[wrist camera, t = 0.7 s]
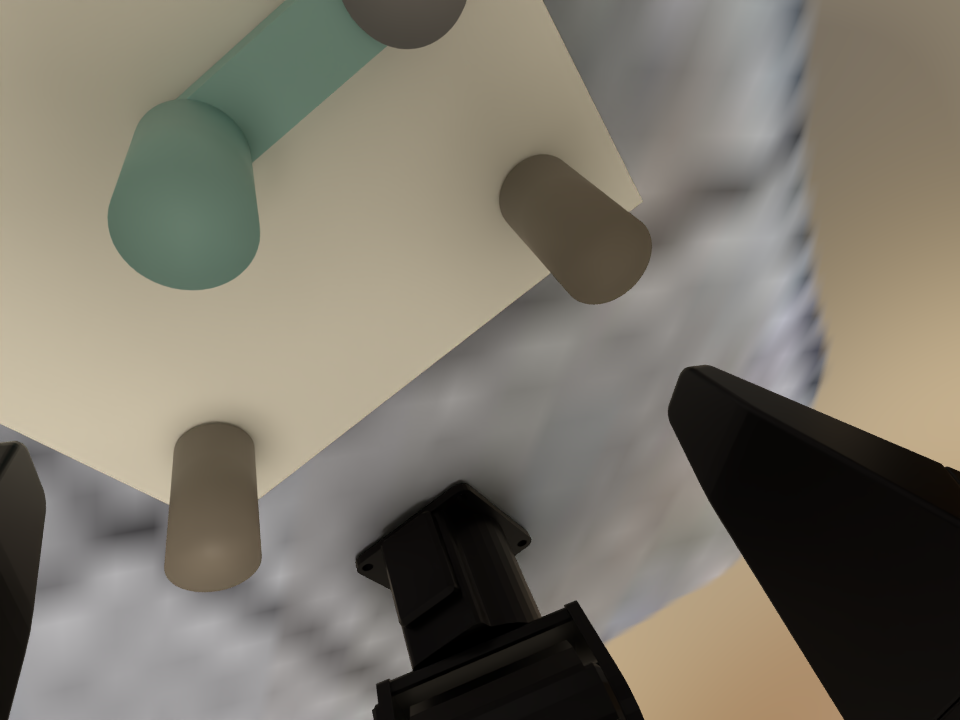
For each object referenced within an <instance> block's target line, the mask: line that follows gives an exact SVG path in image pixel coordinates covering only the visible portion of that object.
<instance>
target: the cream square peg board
mask: <svg viewBox="0 0 960 720" xmlns="http://www.w3.org/2000/svg"><path fill="white" fill-rule="evenodd" d="M284 1H285V0H0V424H2V425H4V426H6V427H8V428H11V429H13V430H15V431H17V432H19V433H21V434H23V435H25V436H27V437H29V438H31V439H33V440H36V441H38V442H40V443H42V444H44V445H46V446H48V447H50V448H52V449H54V450H56V451H58V452H60V453H63V454H65V455H67V456H69V457H71V458H73V459H75V460H77V461H79V462H81V463H83V464H85V465H88V466H90V467H92V468H94V469H96V470H98V471H100V472H102V473H104V474H106V475H108V476H110V477H112V478H115V479H117V480H119V481H121V482H123V483H125V484H127V485H129V486H131V487H133V488H135V489H137V490H139V491H142V492H144V493H146V494H148V495H150V496H152V497H154V498H156V499H158V500H160V501H162V502H164V503H167V504H169V515H168V528H167V540H166V553H165V565H164V570H165V574H166V576H167V578H168V579H169V580H170V581H171V582H172V583H173V584H174V585H176V586H178V587H180V588H182V589H185V590H189V591H195V592H213V591H219V590H224V589H228V588H231V587H233V586H236V585H238V584H240V583H242V582H244V581H245V580H247V579H248V578H249V577H251V576H252V575H253V574H254V573H255V572H256V570H257V569H258V567H259V566H260V563H261V558H262V554H261V539H260V524H259V508H258V499H260V498H261V497H262V496H264V495H265V494H266V493H267V492H269V491H270V490H271V489H273V488H274V487H275V486H276V485H278V484H279V483H280V482H282V481H283V480H284V479H285V478H287V477H288V476H289V475H291V474H292V473H293V472H295V471H296V470H297V469H298V468H300V467H301V466H302V465H304V464H305V463H306V462H307V461H309V460H310V459H311V458H313V457H314V456H315V455H316V454H318V453H319V452H320V451H322V450H323V449H324V448H325V447H327V446H328V445H329V444H331V443H332V442H333V441H334V440H336V439H337V438H338V437H340V436H341V435H342V434H344V433H345V432H346V431H347V430H349V429H350V428H351V427H353V426H354V425H355V424H356V423H358V422H359V421H360V420H362V419H363V418H364V417H365V416H367V415H368V414H369V413H371V412H372V411H373V410H374V409H376V408H377V407H378V406H380V405H381V404H382V403H383V402H385V401H386V400H387V399H389V398H390V397H391V396H393V395H394V394H395V393H396V392H398V391H399V390H400V389H402V388H403V387H404V386H405V385H407V384H408V383H409V382H411V381H412V380H413V379H414V378H416V377H417V376H418V375H420V374H421V373H422V372H423V371H425V370H426V369H427V368H429V367H430V366H431V365H432V364H434V363H435V362H436V361H438V360H439V359H440V358H442V357H443V356H444V355H445V354H447V353H448V352H449V351H451V350H452V349H453V348H454V347H456V346H457V345H458V344H460V343H461V342H462V341H463V340H465V339H466V338H467V337H469V336H470V335H471V334H472V333H474V332H475V331H476V330H478V329H479V328H480V327H481V326H483V325H484V324H485V323H487V322H488V321H489V320H490V319H492V318H493V317H494V316H496V315H497V314H498V313H500V312H501V311H502V310H503V309H505V308H506V307H507V306H509V305H510V304H511V303H512V302H514V301H515V300H516V299H518V298H519V297H520V296H521V295H523V294H524V293H525V292H527V291H528V290H529V289H530V288H532V287H533V286H534V285H536V284H537V283H538V282H539V281H541V280H542V279H543V278H545V277H546V276H547V275H549V274H550V273H551V274H552V275H553V276H554V277H555V278H556V279H557V280H558V282H559V283H560V284H561V285H562V286H563V287H564V288H565V290H566V291H567V292H568V293H569V294H570V295H571V296H572V297H573V298H574V299H576V300H577V301H579V302H582V303H585V304H602V303H607V302H610V301H612V300H615V299H617V298H618V297H620V296H622V295H623V294H625V293H626V292H627V291H629V290H630V289H631V288H632V287H633V286H634V285H635V284H636V283H637V282H638V280H639V279H640V278H641V276H642V275H643V273H644V271H645V270H646V268H647V265H648V263H649V260H650V256H651V249H652V243H651V237H650V234H649V231H648V229H647V228H646V226H645V225H644V224H643V223H642V222H641V221H640V220H638V219H637V218H636V217H634V216H633V215H632V214H631V213H629V212H630V211H631V210H632V209H634V208H635V207H636V206H637V205H639V204H640V203H641V202H643V201H642V199H641V197H640V195H639V193H638V191H637V189H636V187H635V185H634V183H633V181H632V179H631V177H630V175H629V173H628V171H627V169H626V167H625V165H624V163H623V161H622V159H621V157H620V155H619V153H618V151H617V149H616V147H615V145H614V143H613V141H612V139H611V137H610V135H609V133H608V131H607V129H606V127H605V125H604V123H603V121H602V119H601V117H600V115H599V113H598V111H597V109H596V107H595V105H594V103H593V101H592V99H591V97H590V95H589V93H588V91H587V89H586V87H585V85H584V83H583V81H582V79H581V77H580V75H579V73H578V71H577V69H576V67H575V64H574V62H573V60H572V58H571V56H570V54H569V52H568V50H567V48H566V46H565V44H564V42H563V40H562V38H561V36H560V34H559V32H558V30H557V28H556V26H555V24H554V22H553V20H552V18H551V16H550V14H549V12H548V10H547V8H546V6H545V4H544V2H543V0H467V1H466V4H465V7H464V9H463V11H462V13H461V15H460V17H459V18H458V20H457V22H456V23H455V24H454V26H453V27H452V28H451V29H450V30H449V31H448V32H447V33H446V34H445V35H444V36H443V37H441V38H440V39H439V40H437V41H435V42H434V43H432V44H430V45H427V46H424V47H421V48H416V49H398V48H394V47H390V46H387V47H385V48H384V49H383V50H382V51H381V52H380V53H379V54H377V55H376V56H375V57H374V58H373V59H372V60H370V61H369V62H368V63H367V64H366V65H365V66H364V67H362V68H361V69H360V70H359V71H358V72H357V73H355V74H354V75H353V76H352V77H351V78H350V79H349V80H347V81H346V82H345V83H344V84H343V85H342V86H340V87H339V88H338V89H337V90H336V91H335V92H334V93H332V94H331V95H330V96H329V97H328V98H327V99H325V100H324V101H323V102H322V103H321V104H320V105H319V106H317V107H316V108H315V109H314V110H313V111H312V112H310V113H309V114H308V115H307V116H306V117H305V118H304V119H302V120H301V121H300V122H299V123H298V124H297V125H295V126H294V127H293V128H292V129H291V130H290V131H289V132H287V133H286V134H285V135H284V136H283V137H282V138H280V139H279V140H278V141H277V142H276V143H275V144H274V145H272V146H271V147H270V148H269V149H268V150H267V151H265V152H264V153H263V154H262V155H261V156H260V157H259V158H257V159H256V160H255V161H254V162H253V163H252V167H253V175H254V183H255V191H256V199H257V207H258V215H259V223H260V242H259V246H258V250H257V252H256V255H255V257H254V259H253V260H252V262H251V263H250V265H249V266H248V267H247V269H245V270H244V271H243V272H242V273H241V274H240V275H239V276H237V277H236V278H235V279H233V280H231V281H229V282H228V283H226V284H223V285H221V286H218V287H214V288H210V289H204V290H180V289H174V288H170V287H166V286H163V285H160V284H158V283H155V282H153V281H151V280H149V279H147V278H145V277H144V276H142V275H141V274H139V273H138V272H136V271H135V270H134V269H133V268H132V267H130V266H129V265H128V264H127V262H126V261H125V260H124V259H123V258H122V257H121V255H120V254H119V253H118V251H117V249H116V248H115V246H114V244H113V242H112V239H111V236H110V233H109V229H108V219H107V217H108V208H109V204H110V200H111V198H112V195H113V192H114V189H115V186H116V183H117V180H118V178H119V175H120V172H121V169H122V166H123V163H124V161H125V158H126V155H127V152H128V149H129V146H130V143H131V141H132V138H133V135H134V132H135V129H136V127H137V125H138V123H139V121H140V120H141V118H142V117H143V116H144V115H145V114H146V113H147V112H148V111H149V110H151V109H152V108H153V107H155V106H157V105H159V104H161V103H164V102H166V101H171V100H175V99H177V98H178V97H179V96H180V95H181V94H182V93H183V92H184V91H185V90H187V89H188V88H189V87H190V86H191V85H192V84H193V83H194V82H195V81H197V80H198V79H199V78H200V77H201V76H202V75H203V74H204V73H205V72H207V71H208V70H209V69H210V68H211V67H212V66H213V65H214V64H215V63H216V62H218V61H219V60H220V59H221V58H222V57H223V56H224V55H225V54H226V53H228V52H229V51H230V50H231V49H232V48H233V47H234V46H235V45H236V44H238V43H239V42H240V41H241V40H242V39H243V38H244V37H245V36H246V35H248V34H249V33H250V32H251V31H252V30H253V29H254V28H255V27H256V26H258V25H259V24H260V23H261V22H262V21H263V20H264V19H265V18H266V17H268V16H269V15H270V14H271V13H272V12H273V11H274V10H275V9H276V8H277V7H279V6H280V5H281V4H282V3H283V2H284Z"/></svg>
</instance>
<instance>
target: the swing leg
mask: <svg viewBox="0 0 960 720" xmlns="http://www.w3.org/2000/svg"><path fill="white" fill-rule="evenodd" d="M466 1H467V0H285V1H284V2H283V3H282V4H281V5H280V6H279V7H277V8H276V9H275V10H274V11H273V12H272V13H271V14H270V15H269V16H268V17H266V18H265V19H264V20H263V21H262V22H261V23H260V24H259V25H258V26H256V27H255V28H254V29H253V30H252V31H251V32H250V33H249V34H248V35H246V36H245V37H244V38H243V39H242V40H241V41H240V42H239V43H238V44H236V45H235V46H234V47H233V48H232V49H231V50H230V51H229V52H228V53H226V54H225V55H224V56H223V57H222V58H221V59H220V60H219V61H218V62H216V63H215V64H214V65H213V66H212V67H211V68H210V69H209V70H208V71H207V72H205V73H204V74H203V75H202V76H201V77H200V78H199V79H198V80H197V81H195V82H194V83H193V84H192V85H191V86H190V87H189V88H188V89H187V90H185V91H184V92H183V93H182V94H181V95H180V96H179V97H178V98H177V99H175V100H171V101H166V102H164V103H161V104H159V105H157V106H155V107H153V108H152V109H151V110H149V111H148V112H147V113H146V114H145V115H144V116H143V117H142V118H141V120H140V121H139V123H138V125H137V127H136V129H135V132H134V135H133V138H132V141H131V143H130V146H129V149H128V152H127V155H126V158H125V161H124V163H123V166H122V169H121V172H120V175H119V178H118V180H117V183H116V186H115V189H114V192H113V195H112V198H111V200H110V204H109V208H108V217H107V219H108V229H109V233H110V236H111V239H112V242H113V244H114V246H115V248H116V249H117V251H118V253H119V254H120V255H121V257H122V258H123V259H124V260H125V261H126V262H127V264H128V265H129V266H130V267H132V268H133V269H134V270H135V271H136V272H138V273H139V274H141V275H142V276H144V277H145V278H147V279H149V280H151V281H153V282H155V283H158V284H160V285H163V286H166V287H170V288H174V289H180V290H204V289H210V288H214V287H218V286H221V285H223V284H226V283H228V282H229V281H231V280H233V279H235V278H236V277H237V276H239V275H240V274H241V273H242V272H243V271H244V270H245V269H247V267H248V266H249V265H250V263H251V262H252V260H253V259H254V257H255V255H256V252H257V250H258V246H259V242H260V223H259V215H258V207H257V199H256V191H255V183H254V175H253V167H252V163H253V162H254V161H255V160H256V159H257V158H259V157H260V156H261V155H262V154H263V153H264V152H265V151H267V150H268V149H269V148H270V147H271V146H272V145H274V144H275V143H276V142H277V141H278V140H279V139H280V138H282V137H283V136H284V135H285V134H286V133H287V132H289V131H290V130H291V129H292V128H293V127H294V126H295V125H297V124H298V123H299V122H300V121H301V120H302V119H304V118H305V117H306V116H307V115H308V114H309V113H310V112H312V111H313V110H314V109H315V108H316V107H317V106H319V105H320V104H321V103H322V102H323V101H324V100H325V99H327V98H328V97H329V96H330V95H331V94H332V93H334V92H335V91H336V90H337V89H338V88H339V87H340V86H342V85H343V84H344V83H345V82H346V81H347V80H349V79H350V78H351V77H352V76H353V75H354V74H355V73H357V72H358V71H359V70H360V69H361V68H362V67H364V66H365V65H366V64H367V63H368V62H369V61H370V60H372V59H373V58H374V57H375V56H376V55H377V54H379V53H380V52H381V51H382V50H383V49H384V48H385V47H387V46H390V47H394V48H398V49H416V48H421V47H424V46H427V45H430V44H432V43H434V42H435V41H437V40H439V39H440V38H441V37H443V36H444V35H445V34H446V33H447V32H448V31H449V30H450V29H451V28H452V27H453V26H454V24H455V23H456V22H457V20H458V18H459V17H460V15H461V13H462V11H463V9H464V7H465V4H466Z"/></svg>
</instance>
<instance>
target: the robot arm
mask: <svg viewBox="0 0 960 720" xmlns="http://www.w3.org/2000/svg"><path fill="white" fill-rule="evenodd" d="M668 418H669V421H670V424H671V426H672V428H673V430H674V432H675V434H676V436H677V438H678V440H679V442H680V444H681V446H682V448H683V450H684V452H685V454H686V456H687V458H688V460H689V462H690V464H691V466H692V468H693V471H694V473H695V475H696V477H697V479H698V481H699V483H700V485H701V487H702V489H703V491H704V493H705V494H706V496H707V498H708V500H709V502H710V504H711V505H712V507H713V509H714V510H715V512H716V514H717V515H718V517H719V519H720V520H721V522H722V523H723V525H724V527H725V528H726V530H727V531H728V533H729V535H730V536H731V538H732V540H733V541H734V543H735V544H736V546H737V548H738V549H739V551H740V552H741V554H742V556H743V557H744V559H745V560H746V562H747V564H748V565H749V567H750V569H751V570H752V572H753V573H754V575H755V577H756V578H757V580H758V581H759V583H760V585H761V586H762V588H763V590H764V591H765V593H766V594H767V596H768V598H769V599H770V601H771V602H772V604H773V606H774V607H775V609H776V611H777V612H778V614H779V615H780V617H781V619H782V620H783V622H784V623H785V625H786V627H787V628H788V630H789V632H790V633H791V635H792V636H793V638H794V640H795V641H796V643H797V644H798V646H799V648H800V649H801V651H802V652H803V654H804V656H805V657H806V659H807V660H808V662H809V664H810V665H811V667H812V669H813V670H814V672H815V673H816V675H817V677H818V678H819V680H820V681H821V683H822V685H823V686H824V688H825V690H826V691H827V693H828V694H829V696H830V698H831V699H832V701H833V702H834V704H835V706H836V707H837V709H838V711H839V712H840V714H841V715H842V717H843V719H844V720H960V471H957V470H955V469H953V468H950V467H944V466H943V465H942V464H940V463H938V462H936V461H934V460H931V459H929V458H927V457H924V456H922V455H919V454H917V453H915V452H913V451H910V450H908V449H906V448H903V447H901V446H898V445H896V444H893V443H891V442H889V441H887V440H884V439H882V438H880V437H877V436H875V435H873V434H870V433H868V432H866V431H863V430H861V429H859V428H856V427H854V426H851V425H849V424H847V423H844V422H842V421H840V420H837V419H835V418H832V417H830V416H828V415H826V414H823V413H821V412H818V411H816V410H814V409H812V408H809V407H807V406H804V405H802V404H800V403H797V402H795V401H793V400H790V399H788V398H786V397H783V396H781V395H779V394H776V393H774V392H772V391H769V390H767V389H765V388H762V387H760V386H758V385H755V384H753V383H750V382H748V381H746V380H743V379H741V378H739V377H736V376H734V375H732V374H729V373H727V372H725V371H722V370H720V369H718V368H715V367H713V366H710V365H700V366H691V367H687V368H685V369H684V370H683V371H682V372H681V373H680V375H679V378H678V381H677V384H676V386H675V389H674V392H673V395H672V398H671V400H670V403H669V406H668ZM45 514H46V500H45V494H44V490H43V487H42V485H41V482H40V480H39V477H38V475H37V472H36V469H35V467H34V464H33V462H32V459H31V457H30V454H29V452H28V449H27V448H26V447H25V445H24V444H23V443H20V442H18V441H11V442H2V443H0V720H8V719H9V715H10V711H11V707H12V703H13V699H14V695H15V692H16V688H17V684H18V680H19V676H20V672H21V669H22V665H23V661H24V657H25V653H26V649H27V644H28V640H29V636H30V631H31V624H32V617H33V611H34V603H35V594H36V586H37V578H38V570H39V562H40V554H41V546H42V538H43V530H44V522H45ZM530 543H531V538H530V536H529V534H528V532H527V531H526V530H525V529H523V528H522V527H521V526H520V525H518V524H517V523H516V522H515V521H513V520H512V519H511V518H510V517H508V516H507V515H506V514H505V513H503V512H502V511H501V510H500V509H498V508H497V507H496V506H495V505H493V504H492V503H491V502H489V501H488V500H487V499H486V498H484V497H483V496H482V495H481V494H479V493H478V492H477V491H476V490H474V489H473V488H472V487H471V486H469V485H468V484H466V483H461V484H457V485H455V486H453V487H452V488H451V489H449V490H448V491H447V492H445V493H444V494H443V495H441V496H440V497H439V498H437V499H436V500H435V501H433V502H432V503H431V504H429V505H428V506H426V507H425V508H424V509H422V510H421V511H420V512H418V513H417V514H416V515H414V516H413V517H412V518H410V519H409V520H408V521H406V522H405V523H404V524H402V525H401V526H399V527H398V528H397V529H395V530H394V531H393V532H391V533H390V534H389V535H387V536H386V537H385V538H383V539H382V540H381V541H379V542H378V543H377V544H375V545H374V546H372V547H371V548H370V549H368V550H367V551H366V552H364V553H363V554H362V555H360V556H359V557H358V558H357V559H356V561H355V563H356V568H357V572H358V573H359V574H361V575H363V576H365V577H367V578H369V579H371V580H373V581H375V582H377V583H379V584H381V585H383V586H384V587H386V588H388V589H390V590H391V591H392V595H393V600H394V604H395V608H396V612H397V616H398V620H399V623H400V625H401V626H402V630H403V634H404V638H405V642H406V646H407V650H408V654H409V658H410V662H411V666H412V670H413V671H412V672H410V673H407V674H405V675H402V676H400V677H398V678H395V679H393V680H390V679H387V680H384V681H382V682H379V683H377V684H376V688H377V696H378V704H377V705H375V708H374V709H373V710H372V713H373V718H374V720H644V718H643V715H642V713H641V711H640V709H639V706H638V704H637V702H636V700H635V698H634V696H633V694H632V692H631V690H630V688H629V686H628V684H627V682H626V680H625V679H624V677H623V675H622V674H621V672H620V670H619V669H618V667H617V665H616V664H615V662H614V660H613V659H612V657H611V656H610V654H609V652H608V651H607V649H606V647H605V646H604V644H603V643H602V641H601V639H600V638H599V636H598V634H597V633H596V631H595V629H594V628H593V626H592V625H591V623H590V621H589V620H588V618H587V616H586V615H585V613H584V612H583V610H582V608H581V607H580V605H579V603H578V602H577V601H573V602H571V603H568V604H566V605H564V606H565V608H562V609H560V610H558V611H555V612H553V613H550V614H548V615H546V616H543V617H542V616H541V614H540V612H539V610H538V607H537V605H536V603H535V601H534V598H533V596H532V594H531V592H530V589H529V587H528V585H527V583H526V581H525V578H524V576H523V574H522V572H521V569H520V567H519V565H518V563H517V560H516V558H515V555H516V554H518V553H519V552H521V551H522V550H523V549H525V548H526V547H527V546H529V545H530Z"/></svg>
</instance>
